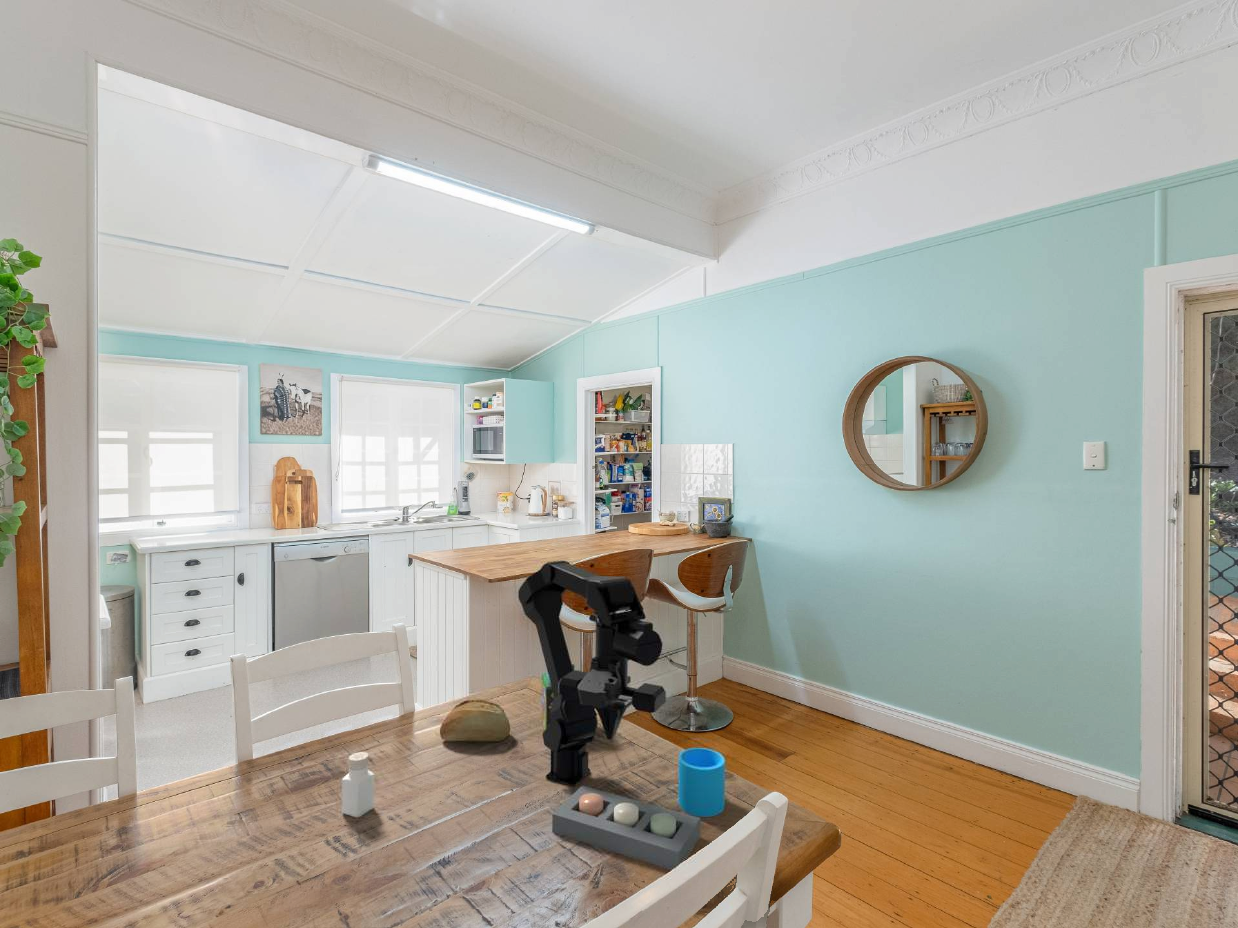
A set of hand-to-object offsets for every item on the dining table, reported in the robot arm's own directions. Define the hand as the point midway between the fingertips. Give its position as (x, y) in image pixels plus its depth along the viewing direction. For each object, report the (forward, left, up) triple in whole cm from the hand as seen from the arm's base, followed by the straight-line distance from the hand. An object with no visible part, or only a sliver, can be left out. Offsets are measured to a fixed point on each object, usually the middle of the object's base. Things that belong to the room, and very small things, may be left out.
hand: (610, 738), depth 110 cm
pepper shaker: (-38, -21, -12) cm, 45 cm away
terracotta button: (0, -6, -10) cm, 12 cm away
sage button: (+12, -6, -10) cm, 17 cm away
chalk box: (-24, +24, -12) cm, 36 cm away
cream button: (+6, -6, -10) cm, 13 cm away
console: (+6, -6, -12) cm, 15 cm away
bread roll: (-38, +11, -12) cm, 42 cm away
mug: (+13, +10, -12) cm, 21 cm away
